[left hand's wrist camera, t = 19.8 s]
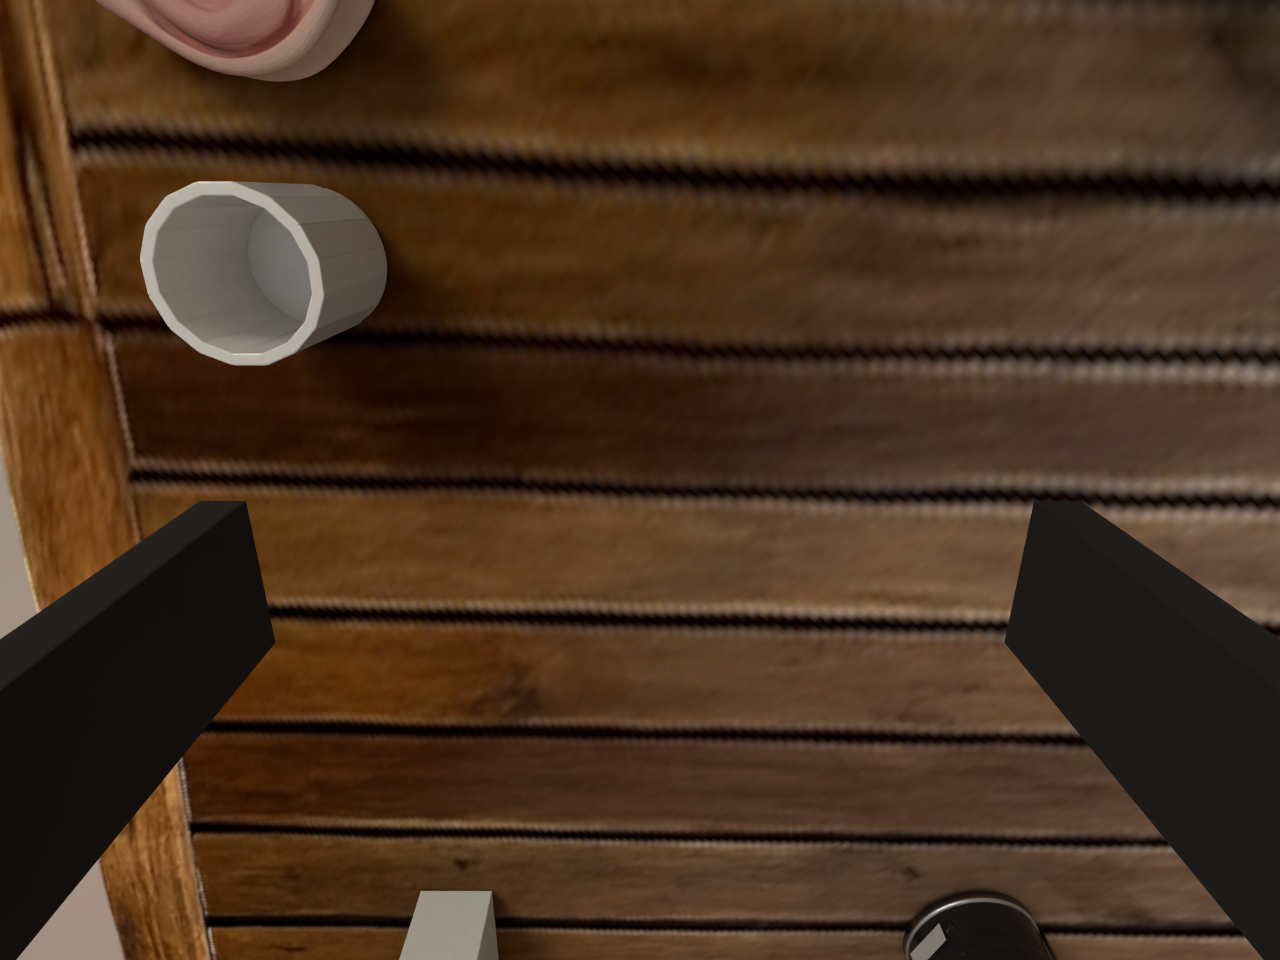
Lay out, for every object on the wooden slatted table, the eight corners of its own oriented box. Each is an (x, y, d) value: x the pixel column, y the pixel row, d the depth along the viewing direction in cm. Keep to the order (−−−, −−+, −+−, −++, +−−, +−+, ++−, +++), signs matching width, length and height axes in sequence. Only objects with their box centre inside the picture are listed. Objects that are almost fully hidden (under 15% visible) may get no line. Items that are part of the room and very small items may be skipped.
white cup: (377, 184, 35) (307, 181, 28) (395, 332, 38) (334, 365, 30) (231, 184, 35) (120, 181, 28) (258, 332, 38) (164, 365, 30)
